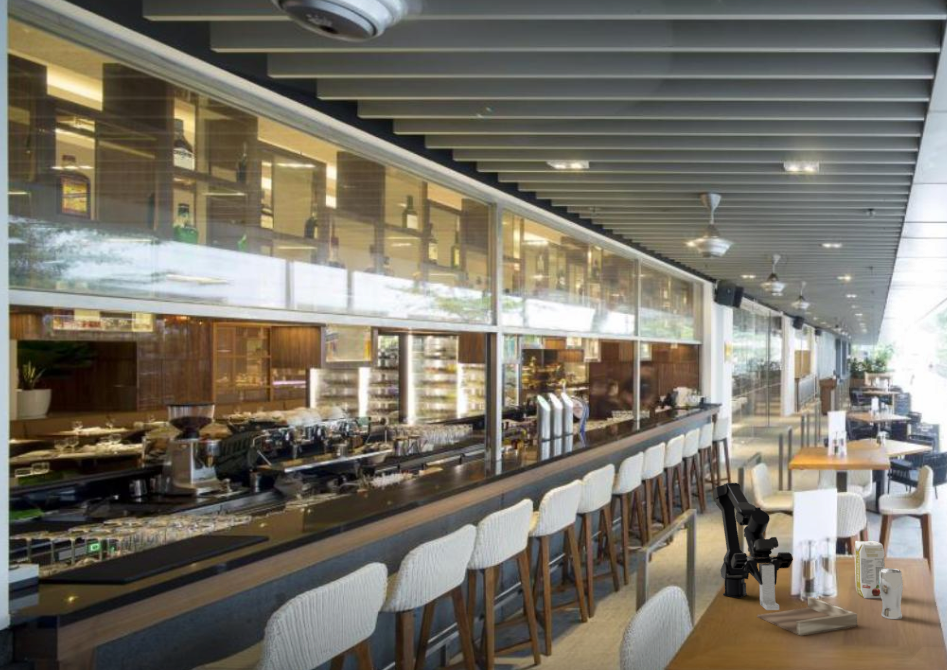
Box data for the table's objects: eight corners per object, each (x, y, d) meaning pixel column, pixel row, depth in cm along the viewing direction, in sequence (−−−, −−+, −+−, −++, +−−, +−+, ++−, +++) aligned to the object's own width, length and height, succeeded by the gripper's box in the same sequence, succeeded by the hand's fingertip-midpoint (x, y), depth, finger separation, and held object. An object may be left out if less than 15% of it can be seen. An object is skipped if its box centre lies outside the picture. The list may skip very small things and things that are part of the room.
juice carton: (887, 599, 288) (886, 544, 289) (863, 599, 288) (861, 544, 289) (877, 592, 296) (876, 539, 296) (853, 593, 296) (852, 540, 296)
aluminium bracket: (760, 604, 264) (758, 563, 264) (772, 604, 264) (771, 563, 264) (766, 610, 258) (765, 568, 258) (779, 609, 258) (778, 568, 258)
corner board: (757, 616, 271) (756, 604, 271) (811, 608, 279) (811, 596, 279) (800, 635, 252) (799, 622, 252) (857, 626, 260) (857, 613, 260)
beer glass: (879, 618, 268) (878, 571, 268) (880, 612, 274) (878, 566, 274) (903, 621, 264) (902, 574, 265) (903, 614, 271) (902, 569, 271)
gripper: (732, 528, 267) (744, 571, 256) (790, 527, 267) (804, 570, 256) (725, 547, 275) (737, 589, 264) (781, 546, 275) (795, 588, 264)
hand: (768, 584), depth 261 cm, fingers closed on aluminium bracket, 4 cm apart
